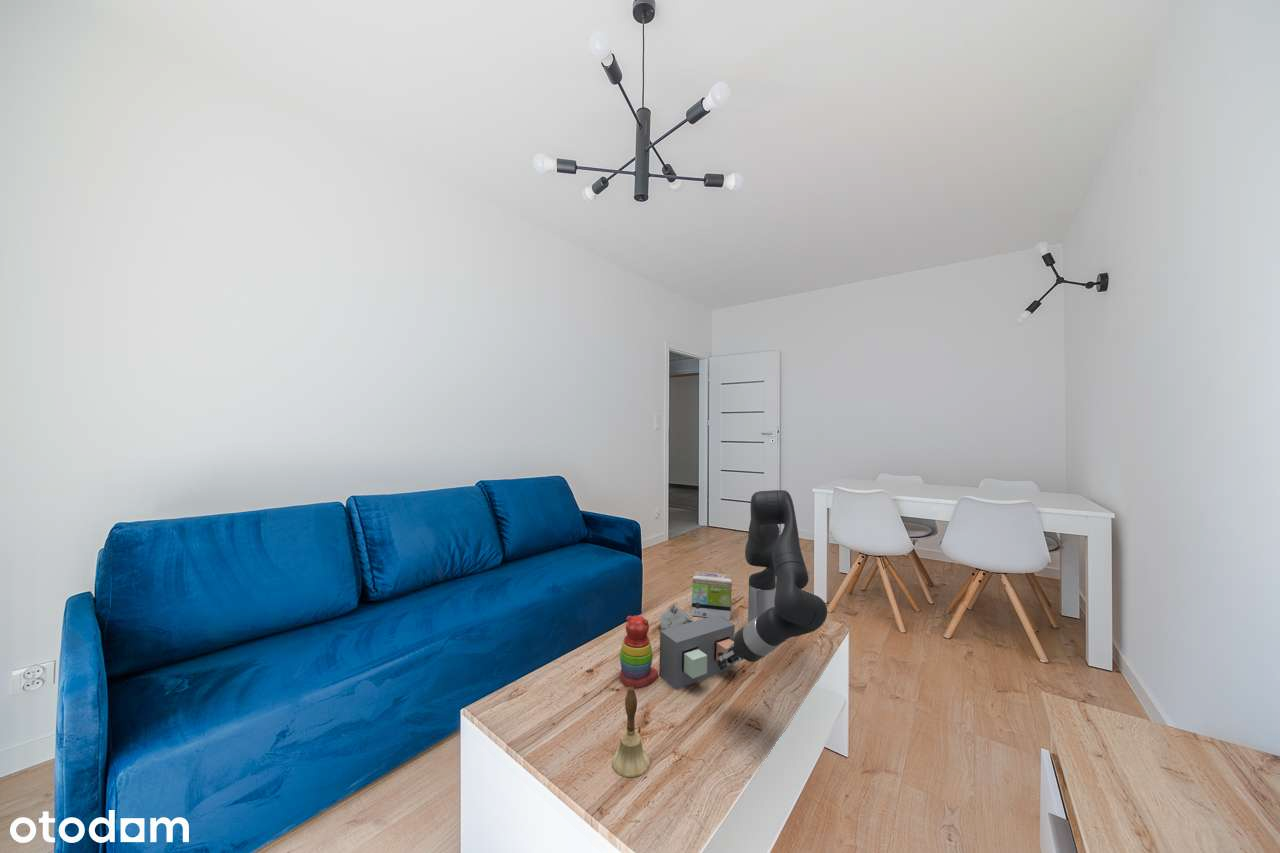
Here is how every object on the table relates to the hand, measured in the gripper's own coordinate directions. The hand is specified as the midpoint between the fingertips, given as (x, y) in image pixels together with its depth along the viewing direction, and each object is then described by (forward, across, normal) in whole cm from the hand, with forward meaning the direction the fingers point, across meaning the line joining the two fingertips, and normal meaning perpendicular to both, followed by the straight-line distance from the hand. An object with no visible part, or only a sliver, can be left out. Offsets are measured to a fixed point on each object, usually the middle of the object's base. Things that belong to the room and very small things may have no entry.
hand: (720, 665), depth 112 cm
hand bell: (+5, +29, +11) cm, 32 cm away
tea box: (+40, -37, -23) cm, 59 cm away
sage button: (+12, 0, -2) cm, 12 cm away
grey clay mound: (+37, -17, -20) cm, 45 cm away
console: (+19, -6, -3) cm, 20 cm away
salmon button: (+12, -12, -2) cm, 17 cm away
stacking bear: (+24, +12, -8) cm, 28 cm away
